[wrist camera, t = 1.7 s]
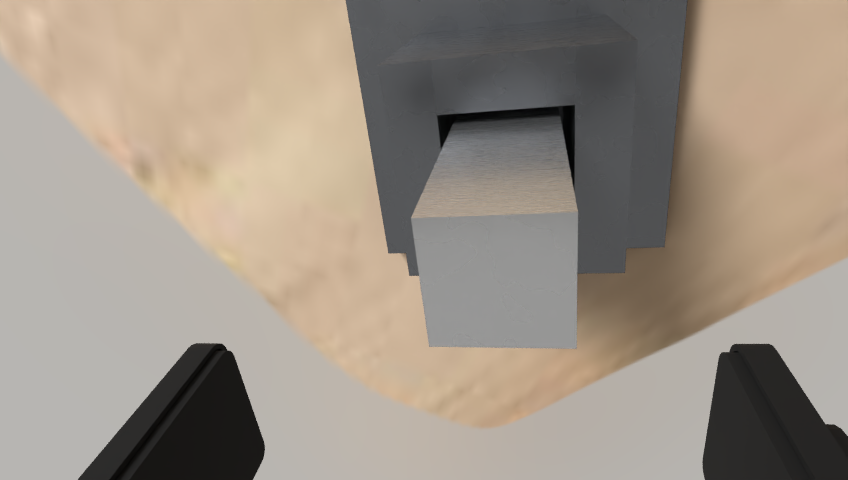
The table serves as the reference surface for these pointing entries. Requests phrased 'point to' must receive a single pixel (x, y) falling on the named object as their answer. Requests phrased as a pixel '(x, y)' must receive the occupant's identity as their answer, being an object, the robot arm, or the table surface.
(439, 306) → the bar
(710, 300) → the table surface
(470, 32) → the jack base
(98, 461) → the robot arm
